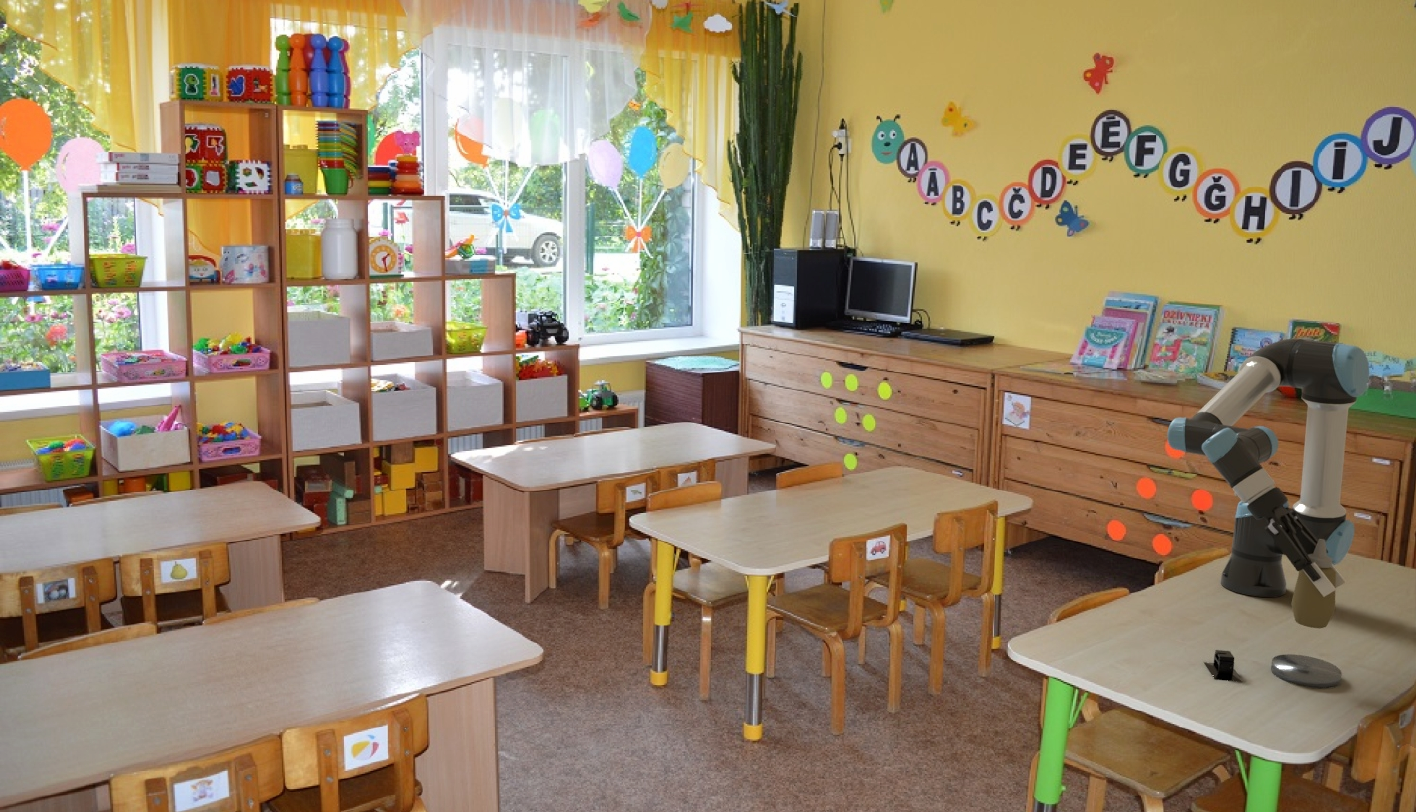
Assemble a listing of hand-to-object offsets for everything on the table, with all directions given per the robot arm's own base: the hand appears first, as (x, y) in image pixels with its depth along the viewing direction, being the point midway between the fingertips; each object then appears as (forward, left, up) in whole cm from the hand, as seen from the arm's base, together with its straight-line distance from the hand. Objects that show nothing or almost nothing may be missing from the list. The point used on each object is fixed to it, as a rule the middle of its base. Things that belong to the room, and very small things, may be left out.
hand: (1335, 589), depth 245 cm
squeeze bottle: (+1, -4, -9) cm, 9 cm away
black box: (+13, -14, -21) cm, 28 cm away
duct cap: (0, -4, -20) cm, 20 cm away
